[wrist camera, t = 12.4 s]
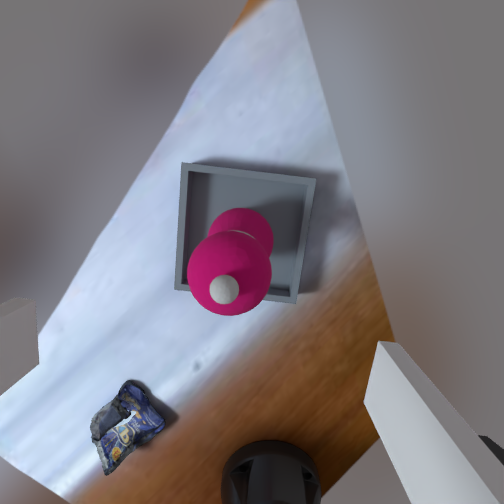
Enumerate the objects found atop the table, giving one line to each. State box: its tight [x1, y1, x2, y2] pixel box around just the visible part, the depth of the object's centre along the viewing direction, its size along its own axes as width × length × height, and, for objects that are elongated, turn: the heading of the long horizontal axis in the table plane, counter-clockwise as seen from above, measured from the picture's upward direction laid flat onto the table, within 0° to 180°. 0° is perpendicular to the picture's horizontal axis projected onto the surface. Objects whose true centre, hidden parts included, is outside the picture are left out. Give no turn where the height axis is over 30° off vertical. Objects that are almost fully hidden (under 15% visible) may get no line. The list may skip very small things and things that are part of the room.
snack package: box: [90, 380, 165, 476], centre depth 42 cm, size 12×6×12 cm
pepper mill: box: [187, 208, 274, 316], centre depth 27 cm, size 7×7×20 cm
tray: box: [174, 162, 316, 304], centre depth 36 cm, size 15×15×3 cm
